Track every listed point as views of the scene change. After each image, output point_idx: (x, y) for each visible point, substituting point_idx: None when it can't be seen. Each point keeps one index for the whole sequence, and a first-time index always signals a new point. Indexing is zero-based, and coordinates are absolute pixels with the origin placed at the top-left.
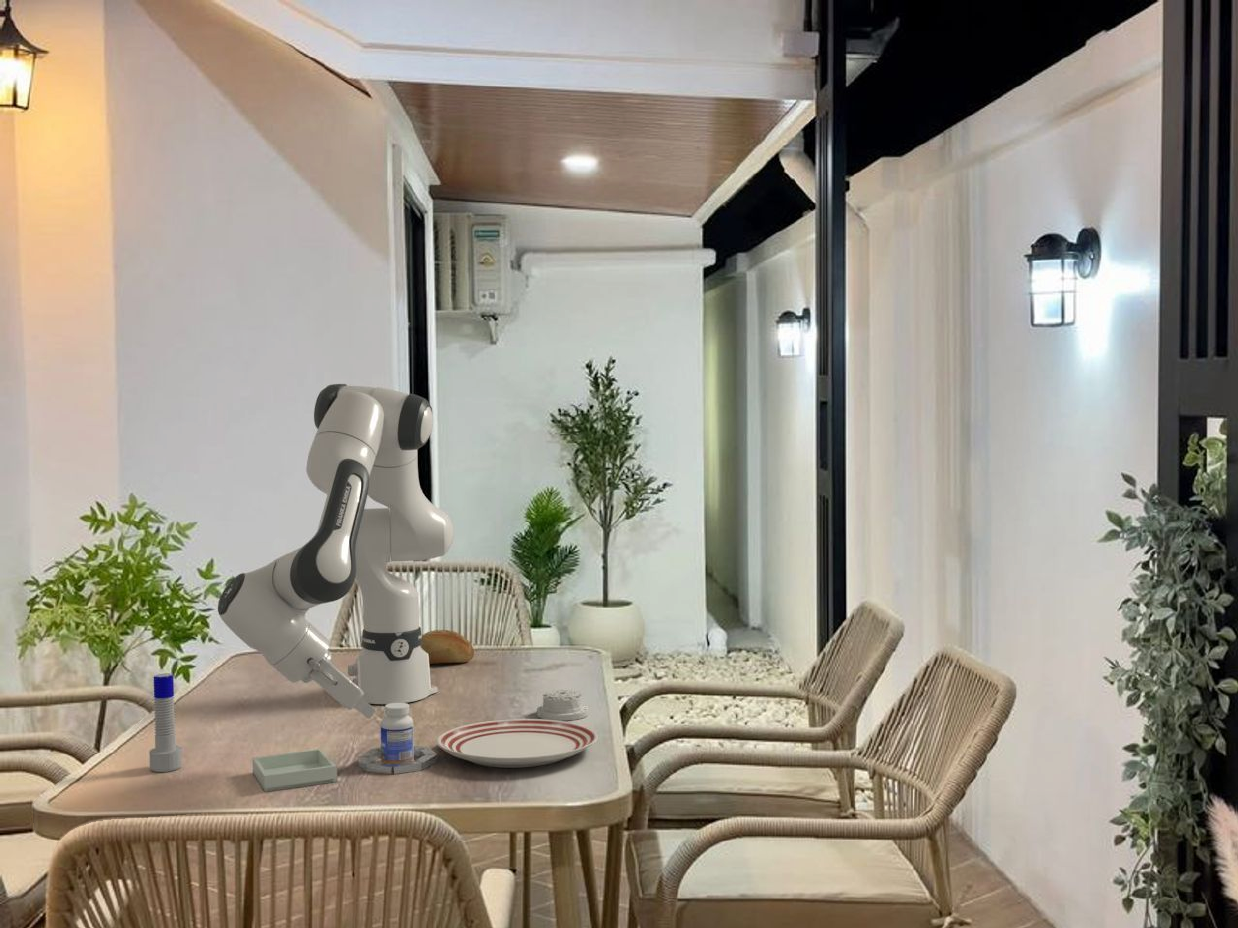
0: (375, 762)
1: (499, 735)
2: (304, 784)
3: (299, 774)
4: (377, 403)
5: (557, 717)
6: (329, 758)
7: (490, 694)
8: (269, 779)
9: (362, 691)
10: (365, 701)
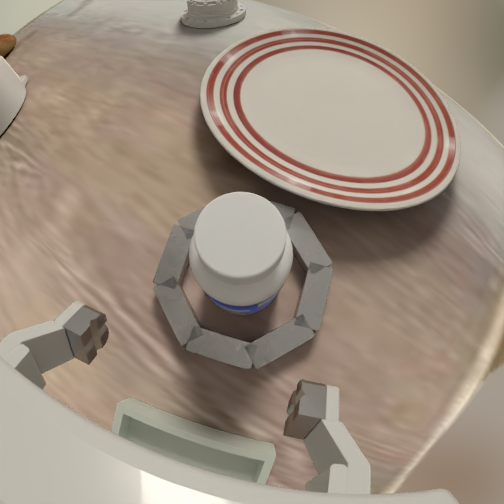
0: (256, 344)
1: (250, 80)
2: None
3: None
4: None
5: (232, 20)
6: (205, 439)
7: (82, 41)
8: None
9: (454, 499)
10: (354, 445)
